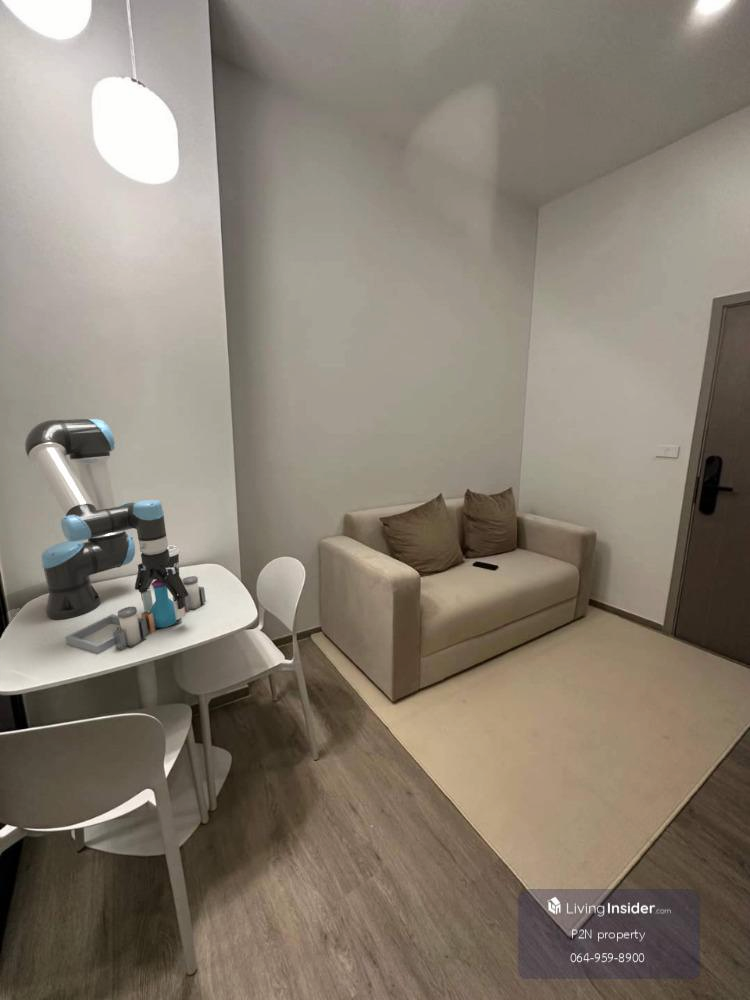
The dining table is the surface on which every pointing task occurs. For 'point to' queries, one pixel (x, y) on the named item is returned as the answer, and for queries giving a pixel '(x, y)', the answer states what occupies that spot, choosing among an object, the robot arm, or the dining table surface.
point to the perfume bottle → (162, 606)
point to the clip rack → (151, 623)
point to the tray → (87, 645)
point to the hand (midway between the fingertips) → (164, 613)
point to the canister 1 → (130, 625)
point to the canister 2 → (192, 591)
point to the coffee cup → (173, 557)
